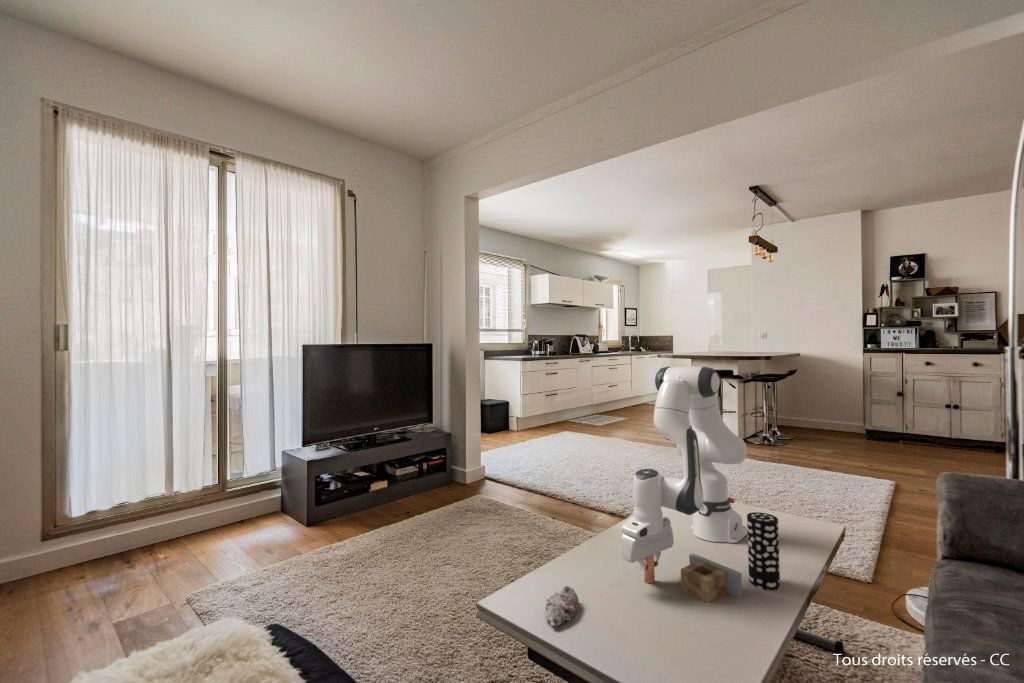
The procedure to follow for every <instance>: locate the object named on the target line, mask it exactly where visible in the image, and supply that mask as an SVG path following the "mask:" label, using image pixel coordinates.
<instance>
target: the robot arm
mask: <svg viewBox="0 0 1024 683" xmlns="http://www.w3.org/2000/svg"><path fill="white" fill-rule="evenodd" d="M720 380H721V379H720V376H719V373H718V372H717V371H716V370H715V369H714V368H711V367H707V366H693V365H685V366H684V365H682V366H680V365H679V366H665V367H662V368H659V369H658V371H657V372H656V374H655V377H654V385H655V388H656V390H657V395H656V398H655V399H656V400H655V405H654V411H653V426H654V427H655V429H656V431H657V432H658V433H659V434H660V435H661V436H662V437H664V438H666V439H668V440H670V442H672V443H674V444H676V445H675V446H676V449H677V451H678V453H679V455H680V456H682V465H683V466H682V469H683V470H682V472H683V477H682V478H681V479H680V478H676V477H670V476H667V475H662V474H660V473H659V471H657V470H656V469H653V468H642V469H639V470H637V471H636V472H635V473H634V476H633V479H632V480H633V481H632V500H633V501H632V502H633V506H634V508H633V511H632V516H631V517H630V518H629V519H628V520H627V521H626V522H625V523H624V524H622V525H621V532H622V533H623V535H622V537H621V556H622V558H623V559H624V561H626V562H628V563H631V564H632V563H636V562H638V564H639V569H640V571H642V572H644V571H647V570H648V565H647V564H645V562H644V561H645V558H646V557H648V556H651V555H653V554H654V568H655V567H658V566H659V560H660V558H661V554H662V552H663V551H666V550H668V549H671V548H673V546H674V543H675V542H674V541H675V540H674V532H673V528H672V524H671V520H670V518H668V517H664V516H663V510H662V508H665V509H670V510H674V511H676V512H678V513H681V514H684V515H687V516H693V519H692V523H691V525H690V529H691V530H692V533H693V535H694V536H695V537H697V538H699V539H701V540H704V541H709V542H714V543H729V544H737V543H738V542H740V541H741V540H743V538H745V536H748V531H747V526H745V525H743V524H744V523H743V517H742V516H741V515H740V514H739V513H738V512H737V511H736V510H734V509H733V508H732V505H731V504H735V501H736V500H735V497H731V496H729V495H728V494H729V492H728V479H727V477H726V476H725V475H724V473H722V472H720V471H719V470H718V469H717V468H716V467H715V466H714V464H713V463H717V464H722V465H741V464H742V463H743V462H744V461H745V460H746V459H747V455H748V447H747V444H746V443H745V441H744V440H743V439H742V438H741V437H739V436H737V434H735V433H734V432H733V431H732V430H730V428H729V427H728V426H727V424H726V423H725V422H724V419H723V418H722V415H721V411H720V408H719V402H718V397H717V393H718V392H719V389H720V384H721V382H720ZM691 425H692V426H693V428H695V429H697V430H694V429H692V427H691ZM698 430H699V431H698Z"/></svg>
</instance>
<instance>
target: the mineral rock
mask: <svg viewBox="0 0 1024 683" xmlns="http://www.w3.org/2000/svg"><path fill="white" fill-rule="evenodd" d="M545 602H546V604H545V605H546V606H545V612H543V613H544V614H543V615H544V618H545V619H546V620H547V621H548V622H549V623H550V625H551V626H552V627H558V626H559V625H562V624H563V623H564V622H565V621H568V620H569V619H570V620H569V621H572V620H573V619H575V618H576V616H575V615H576V614H577V613H578V610H579V608H580V606H579V604H580V602H579V596H578V594H577V592H576V591H575V590H574V588H573V587H570V586H568V585H566V586H564V587H563V588H561V590H560V591H558V592H555V593H554V594H552V595H551V596H550V598H546V601H545ZM566 619H568V620H566ZM571 619H572V620H571Z"/></svg>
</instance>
